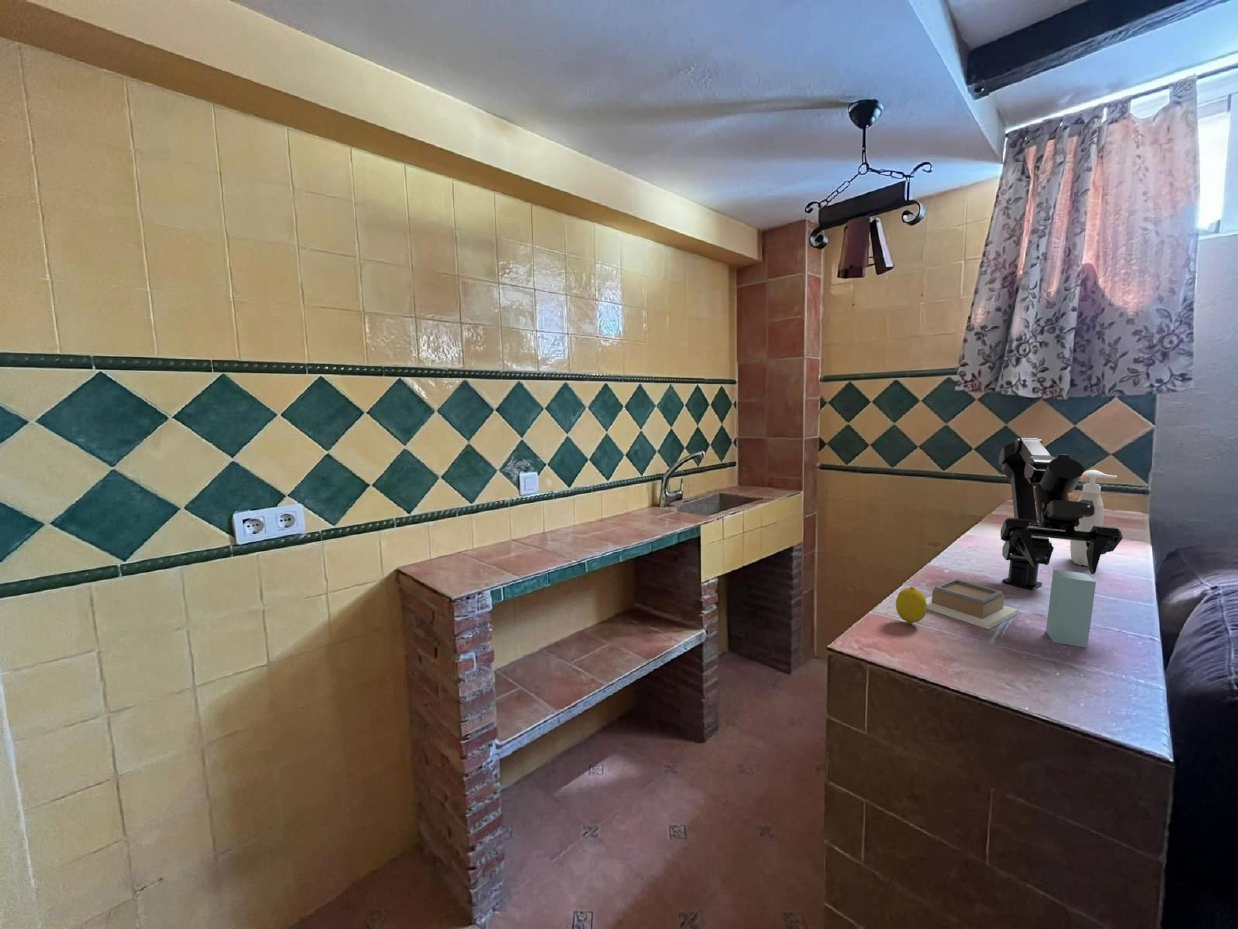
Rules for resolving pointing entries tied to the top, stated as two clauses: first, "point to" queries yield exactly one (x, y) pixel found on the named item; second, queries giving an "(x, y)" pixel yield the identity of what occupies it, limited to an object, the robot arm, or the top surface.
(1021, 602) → the top surface
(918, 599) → the lemon
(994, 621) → the build base
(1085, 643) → the pillar
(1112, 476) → the soap bottle
